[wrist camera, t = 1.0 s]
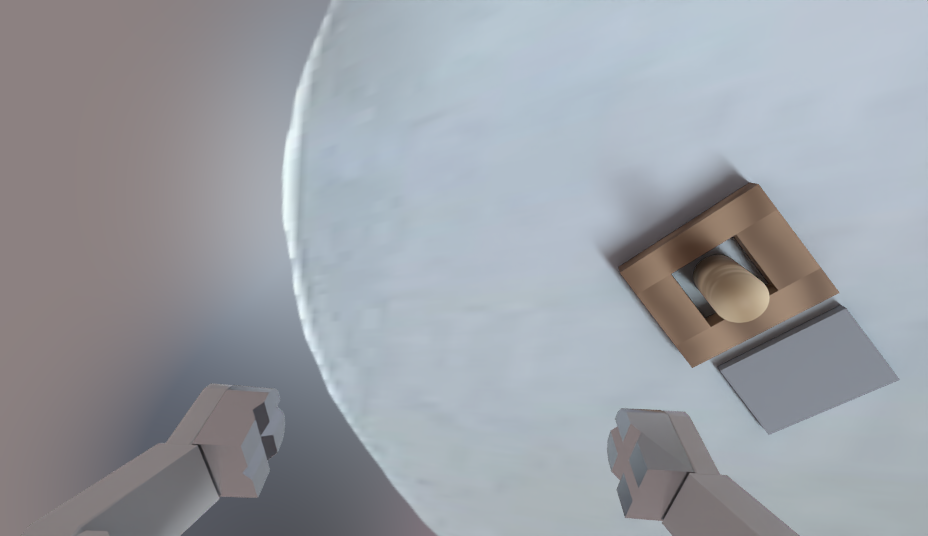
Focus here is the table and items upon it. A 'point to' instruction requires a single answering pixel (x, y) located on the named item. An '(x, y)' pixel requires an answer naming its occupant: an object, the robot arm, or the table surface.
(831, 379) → the slate mat
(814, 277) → the well board
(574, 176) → the table surface
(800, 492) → the table surface
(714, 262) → the tan domed cylinder
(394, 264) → the table surface
